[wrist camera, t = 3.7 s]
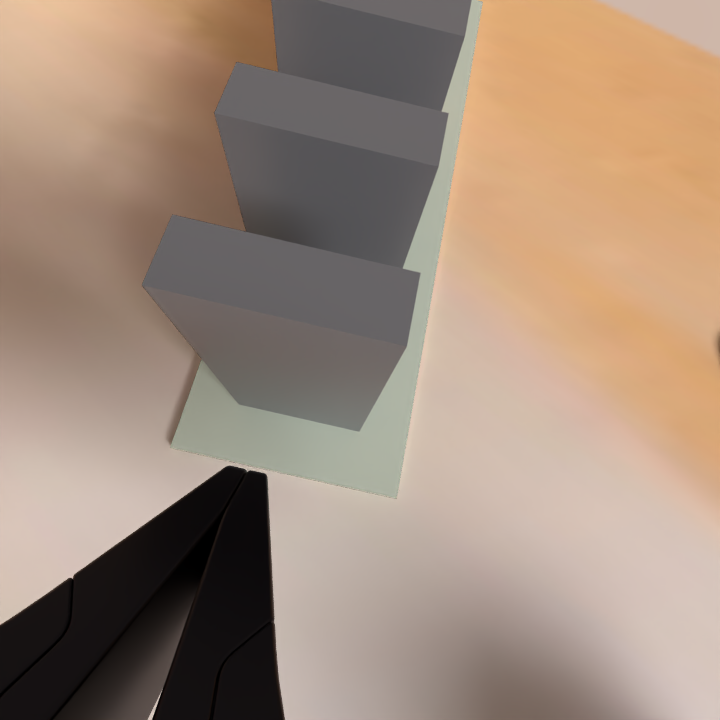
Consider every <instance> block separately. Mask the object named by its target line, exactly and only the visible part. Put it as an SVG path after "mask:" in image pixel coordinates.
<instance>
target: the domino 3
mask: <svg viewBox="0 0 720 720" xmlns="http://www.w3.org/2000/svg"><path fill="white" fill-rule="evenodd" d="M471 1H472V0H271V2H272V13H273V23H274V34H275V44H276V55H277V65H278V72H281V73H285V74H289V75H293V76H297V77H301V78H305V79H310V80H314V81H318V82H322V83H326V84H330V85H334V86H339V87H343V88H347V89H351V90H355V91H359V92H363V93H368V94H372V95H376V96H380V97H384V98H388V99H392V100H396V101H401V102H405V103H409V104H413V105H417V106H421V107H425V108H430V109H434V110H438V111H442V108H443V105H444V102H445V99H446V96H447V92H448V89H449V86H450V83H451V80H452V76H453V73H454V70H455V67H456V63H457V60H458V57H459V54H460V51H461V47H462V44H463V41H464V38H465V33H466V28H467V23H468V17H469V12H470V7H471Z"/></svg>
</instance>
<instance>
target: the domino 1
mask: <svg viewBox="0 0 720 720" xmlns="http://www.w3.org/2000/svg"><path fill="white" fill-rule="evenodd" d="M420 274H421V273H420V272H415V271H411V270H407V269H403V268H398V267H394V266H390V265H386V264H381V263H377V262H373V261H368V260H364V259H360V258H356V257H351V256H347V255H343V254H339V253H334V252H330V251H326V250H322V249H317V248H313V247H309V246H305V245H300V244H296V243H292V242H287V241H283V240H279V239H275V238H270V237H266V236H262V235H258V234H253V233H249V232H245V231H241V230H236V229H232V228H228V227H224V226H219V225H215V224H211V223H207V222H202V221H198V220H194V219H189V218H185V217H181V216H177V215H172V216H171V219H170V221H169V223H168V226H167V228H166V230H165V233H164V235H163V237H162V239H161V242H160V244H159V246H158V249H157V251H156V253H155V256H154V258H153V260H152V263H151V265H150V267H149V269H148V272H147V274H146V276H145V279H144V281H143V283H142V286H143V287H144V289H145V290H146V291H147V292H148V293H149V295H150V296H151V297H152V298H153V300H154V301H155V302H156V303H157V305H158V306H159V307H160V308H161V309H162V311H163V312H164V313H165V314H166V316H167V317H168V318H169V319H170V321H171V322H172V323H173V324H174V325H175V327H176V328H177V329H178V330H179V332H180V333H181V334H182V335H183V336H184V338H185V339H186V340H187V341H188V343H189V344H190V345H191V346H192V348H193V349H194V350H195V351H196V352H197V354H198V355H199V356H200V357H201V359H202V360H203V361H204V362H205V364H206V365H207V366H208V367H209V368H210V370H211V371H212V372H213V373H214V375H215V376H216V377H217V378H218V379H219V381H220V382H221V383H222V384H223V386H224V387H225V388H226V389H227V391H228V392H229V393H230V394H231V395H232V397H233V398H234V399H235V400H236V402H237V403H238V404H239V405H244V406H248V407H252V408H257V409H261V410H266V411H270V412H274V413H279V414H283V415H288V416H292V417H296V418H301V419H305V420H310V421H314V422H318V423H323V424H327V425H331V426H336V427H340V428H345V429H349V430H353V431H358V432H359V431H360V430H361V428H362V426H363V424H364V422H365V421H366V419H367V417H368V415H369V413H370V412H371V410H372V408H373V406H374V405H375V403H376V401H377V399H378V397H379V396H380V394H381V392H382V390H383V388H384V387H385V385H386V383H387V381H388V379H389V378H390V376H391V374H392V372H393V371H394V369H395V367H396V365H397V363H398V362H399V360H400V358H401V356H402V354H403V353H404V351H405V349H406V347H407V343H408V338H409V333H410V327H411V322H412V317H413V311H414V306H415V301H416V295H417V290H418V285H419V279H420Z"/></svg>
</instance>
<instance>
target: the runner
mask: <svg viewBox="0 0 720 720" xmlns="http://www.w3.org/2000/svg"><path fill="white" fill-rule="evenodd" d="M482 3H483V2H481V1H477V0H472V1H471V7H470V12H469V17H468V23H467V28H466V33H465V38H464V41H463V44H462V47H461V51H460V54H459V57H458V60H457V63H456V67H455V70H454V73H453V76H452V80H451V83H450V86H449V89H448V92H447V96H446V99H445V102H444V105H443V108H442V112H446V113H449V115H448V120H447V125H446V130H445V136H444V141H443V146H442V152H441V157H440V162H439V167H438V170H437V173H436V176H435V178H434V181H433V184H432V187H431V190H430V193H429V195H428V198H427V201H426V204H425V207H424V209H423V212H422V215H421V218H420V221H419V224H418V226H417V229H416V232H415V235H414V238H413V240H412V243H411V246H410V249H409V252H408V255H407V257H406V260H405V263H404V266H403V269H407V270H411V271H415V272H420V273H421V274H420V279H419V285H418V290H417V295H416V301H415V306H414V311H413V317H412V322H411V327H410V333H409V338H408V343H407V347H406V349H405V351H404V353H403V354H402V356H401V358H400V360H399V362H398V363H397V365H396V367H395V369H394V371H393V372H392V374H391V376H390V378H389V379H388V381H387V383H386V385H385V387H384V388H383V390H382V392H381V394H380V396H379V397H378V399H377V401H376V403H375V405H374V406H373V408H372V410H371V412H370V413H369V415H368V417H367V419H366V421H365V422H364V424H363V426H362V428H361V430H360V431H359V432H358V431H353V430H349V429H345V428H340V427H336V426H331V425H327V424H323V423H318V422H314V421H310V420H305V419H301V418H296V417H292V416H288V415H283V414H279V413H274V412H270V411H266V410H261V409H257V408H252V407H248V406H244V405H239V404H238V403H237V402H236V400H235V399H234V398H233V397H232V395H231V394H230V393H229V392H228V391H227V389H226V388H225V387H224V386H223V384H222V383H221V382H220V381H219V379H218V378H217V377H216V376H215V375H214V373H213V372H212V371H211V370H210V368H209V367H208V366H207V365H206V364H205V362H204V361H203V360H201V362H200V365H199V368H198V371H197V374H196V376H195V379H194V382H193V385H192V388H191V390H190V393H189V396H188V399H187V402H186V404H185V407H184V410H183V413H182V416H181V418H180V421H179V424H178V427H177V430H176V432H175V435H174V438H173V441H172V444H171V446H170V448H173V449H177V450H182V451H186V452H191V453H195V454H200V455H204V456H209V457H213V458H217V459H222V460H226V461H231V462H235V463H240V464H244V465H249V466H253V467H257V468H262V469H266V470H271V471H275V472H280V473H284V474H289V475H293V476H297V477H302V478H306V479H311V480H315V481H320V482H324V483H329V484H333V485H337V486H342V487H346V488H351V489H355V490H360V491H364V492H369V493H373V494H377V495H382V496H386V497H391V498H395V499H396V498H397V494H398V488H399V482H400V476H401V471H402V465H403V459H404V453H405V448H406V442H407V436H408V430H409V425H410V419H411V413H412V407H413V401H414V396H415V390H416V384H417V378H418V373H419V367H420V361H421V355H422V350H423V344H424V338H425V332H426V326H427V321H428V315H429V309H430V303H431V298H432V292H433V286H434V280H435V275H436V269H437V263H438V257H439V251H440V246H441V240H442V234H443V228H444V223H445V217H446V211H447V205H448V200H449V194H450V188H451V182H452V176H453V171H454V165H455V159H456V153H457V148H458V142H459V136H460V130H461V125H462V119H463V113H464V107H465V101H466V96H467V90H468V84H469V78H470V73H471V67H472V61H473V55H474V49H475V44H476V38H477V32H478V26H479V21H480V15H481V9H482Z"/></svg>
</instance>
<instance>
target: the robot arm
mask: <svg viewBox="0 0 720 720" xmlns="http://www.w3.org/2000/svg"><path fill="white" fill-rule="evenodd" d="M162 689H163V690H162ZM161 691H162V693H161ZM160 693H161V696H160V699H159V701H158V704H157V707H156V710H155V713H154V716H153V719H152V720H285V717H284V710H283V704H282V697H281V690H280V684H279V676H278V664H277V652H276V636H275V624H274V600H273V580H272V560H271V540H270V520H269V500H268V480H267V475H266V474H265V473H260V472H256V471H252V470H250V471H248V472H247V471H246V470H245V469H243V468H238V467H234V466H227V467H225V468H223V469H222V470H221V471H219V472H218V473H216V474H215V475H213V476H212V477H211V478H209V479H208V480H206V481H205V482H204V483H202V484H201V485H199V486H198V487H197V488H195V489H194V490H192V491H191V492H190V493H188V494H187V495H185V496H184V497H183V498H181V499H180V500H178V501H177V502H176V503H174V504H173V505H171V506H170V507H168V508H167V509H166V510H164V511H163V512H161V513H160V514H159V515H157V516H156V517H154V518H153V519H152V520H150V521H149V522H147V523H146V524H145V525H143V526H142V527H140V528H139V529H138V530H136V531H135V532H133V533H132V534H131V535H129V536H128V537H126V538H125V539H123V540H122V541H121V542H119V543H118V544H116V545H115V546H114V547H112V548H111V549H109V550H108V551H107V552H105V553H104V554H102V555H101V556H100V557H98V558H97V559H95V560H94V561H93V562H91V563H90V564H88V565H87V566H86V567H84V568H83V569H81V570H80V571H79V572H77V573H76V574H74V576H73V579H72V578H68V579H67V580H66V581H64V582H63V583H61V584H60V585H59V586H57V587H56V588H54V589H53V590H51V591H50V592H49V593H47V594H46V595H44V596H43V597H41V598H40V599H38V600H37V601H35V602H34V603H33V604H31V605H30V606H28V607H27V608H25V609H24V610H22V611H21V612H19V613H18V614H16V615H15V616H13V617H12V618H10V619H9V620H7V621H6V622H4V623H3V624H1V625H0V720H147V719H148V717H149V715H150V713H151V711H152V709H153V707H154V705H155V703H156V701H157V699H158V697H159V695H160Z"/></svg>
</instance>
